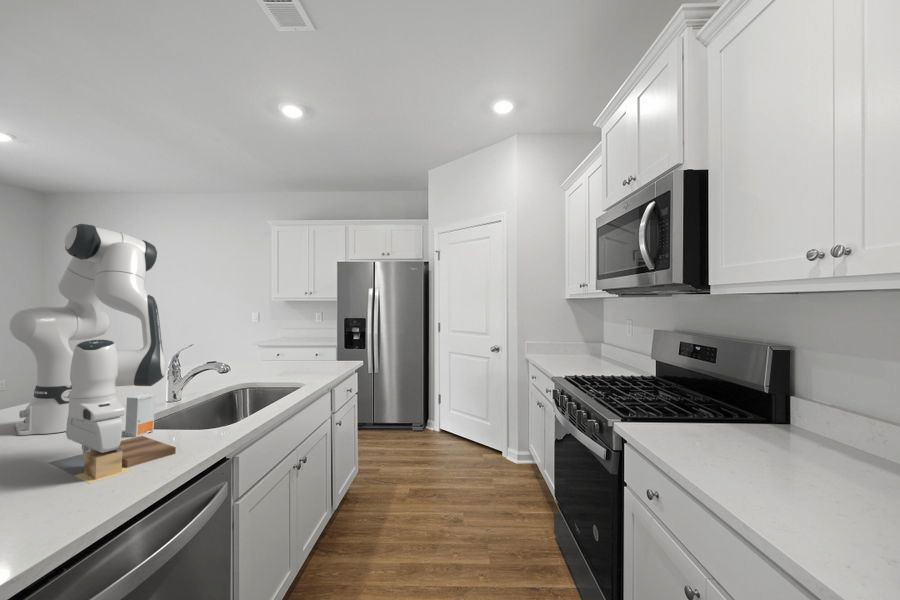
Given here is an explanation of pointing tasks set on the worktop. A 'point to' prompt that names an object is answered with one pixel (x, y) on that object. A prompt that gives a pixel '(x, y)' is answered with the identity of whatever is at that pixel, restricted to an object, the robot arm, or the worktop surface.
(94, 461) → the light wooden block
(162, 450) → the walnut board
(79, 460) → the strip
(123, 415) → the robot arm
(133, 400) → the skincare box
